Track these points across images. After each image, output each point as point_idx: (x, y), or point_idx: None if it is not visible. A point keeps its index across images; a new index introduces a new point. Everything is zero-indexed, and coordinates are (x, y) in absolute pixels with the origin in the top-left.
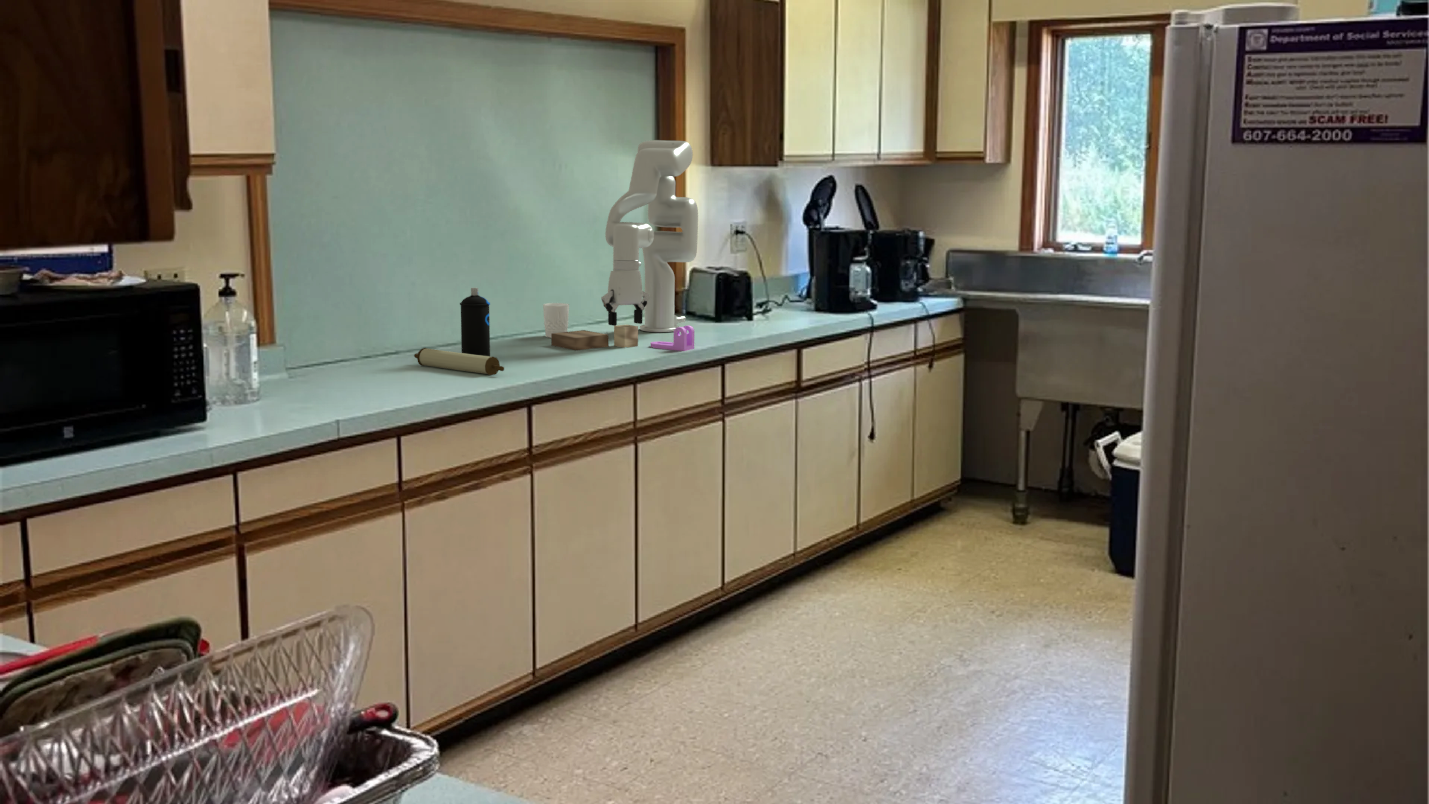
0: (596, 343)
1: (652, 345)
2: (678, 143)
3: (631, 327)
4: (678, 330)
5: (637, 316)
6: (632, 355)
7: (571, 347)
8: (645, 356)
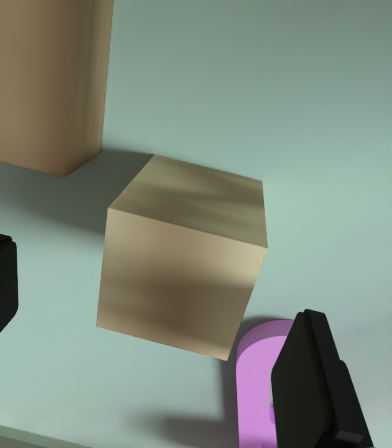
0: None
1: (238, 351)
2: None
3: (162, 340)
4: None
5: (291, 399)
6: (12, 371)
7: None
8: (37, 409)
